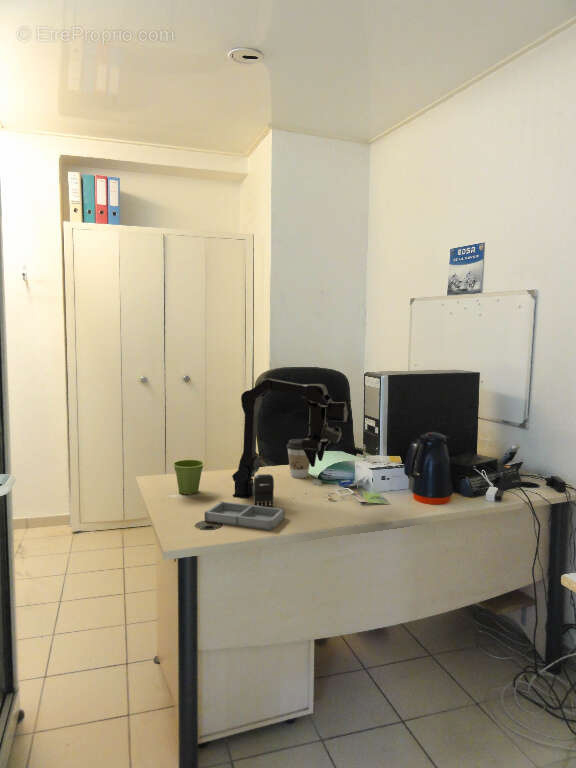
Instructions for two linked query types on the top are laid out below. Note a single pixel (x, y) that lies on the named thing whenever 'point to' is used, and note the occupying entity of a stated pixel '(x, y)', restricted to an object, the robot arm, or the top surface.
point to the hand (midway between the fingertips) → (316, 463)
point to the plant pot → (188, 475)
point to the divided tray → (245, 515)
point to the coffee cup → (297, 459)
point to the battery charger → (263, 490)
